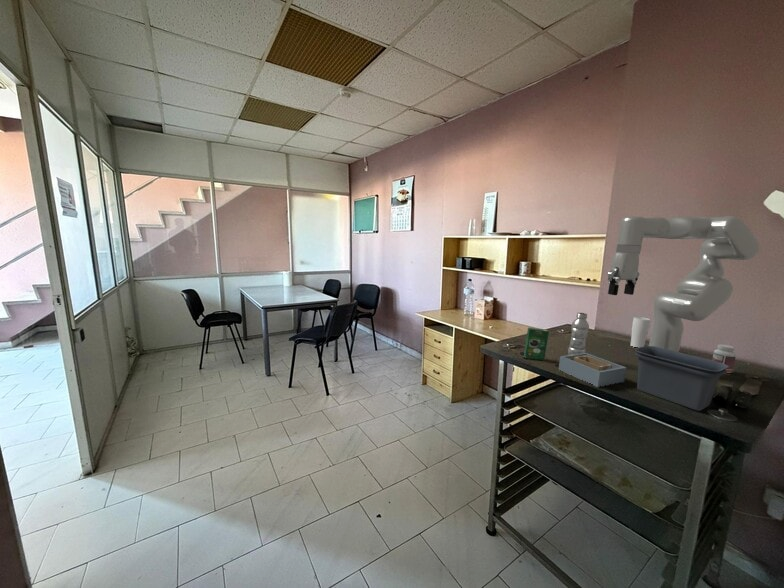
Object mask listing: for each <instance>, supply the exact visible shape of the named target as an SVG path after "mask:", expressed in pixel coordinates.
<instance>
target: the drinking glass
mask: <svg viewBox="0 0 784 588" xmlns="http://www.w3.org/2000/svg"><path fill="white" fill-rule="evenodd" d="M651 321H652V320H651V319H650V318H647V317H642V316H634V317H633V319H632V325H631V335H630V337H631V338H630V347H631V346H633V347H632V348H634V347H638V348H639V347H643V346H645V343H646V341H647V337H648V333H649V330H650V327H651Z"/></svg>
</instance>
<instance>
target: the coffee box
mask: <svg viewBox="0 0 784 588" xmlns="http://www.w3.org/2000/svg"><path fill="white" fill-rule="evenodd" d="M525 338H526V339H525V344H524V345H525V346H524V350H523V358H524V357H525V358H524V359H529V360H537V361H545V357H546V352H547V347H548V346H547V345H548V339H549V330H548V329H544V328H535V327H527V332H526V337H525Z"/></svg>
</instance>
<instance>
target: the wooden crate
mask: <svg viewBox="0 0 784 588" xmlns="http://www.w3.org/2000/svg"><path fill="white" fill-rule="evenodd" d="M573 361H575V362H578V363H580V364H583V365H585V366H588V367H590V368H593V369H595V370H598V371H603V370H609V369H612V365H611V364H608V363H606V362H603V361H600V360H597V359H595V358H592V357H589V356H587V355H586V356H579V357H574V360H573Z"/></svg>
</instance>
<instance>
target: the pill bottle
mask: <svg viewBox="0 0 784 588" xmlns="http://www.w3.org/2000/svg"><path fill="white" fill-rule="evenodd" d="M734 351H735V347H734V346H733V345H732V346H731V345H728V344H719V343H718V344H717V349H715V350H714V351H713V355H712V359H711V360H712V361H716V362H719V363H723V364H726V365H728V366H729V367H728V368H726V370H727V373H731V372H732V373H733V371H734V365H735V360H736V357H737V355H736V353H735V352H734Z"/></svg>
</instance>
